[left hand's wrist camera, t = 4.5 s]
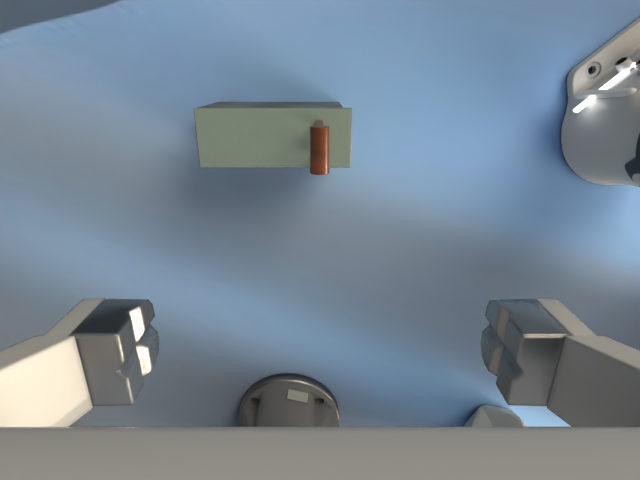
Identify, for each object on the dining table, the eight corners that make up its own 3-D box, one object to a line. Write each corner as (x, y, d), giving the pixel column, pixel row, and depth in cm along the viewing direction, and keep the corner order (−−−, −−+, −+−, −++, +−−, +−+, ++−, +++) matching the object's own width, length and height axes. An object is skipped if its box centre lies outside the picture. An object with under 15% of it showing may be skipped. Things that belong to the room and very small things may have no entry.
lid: (351, 107, 39) (359, 115, 32) (349, 165, 41) (356, 185, 34) (197, 107, 39) (167, 115, 31) (203, 164, 41) (176, 185, 34)
